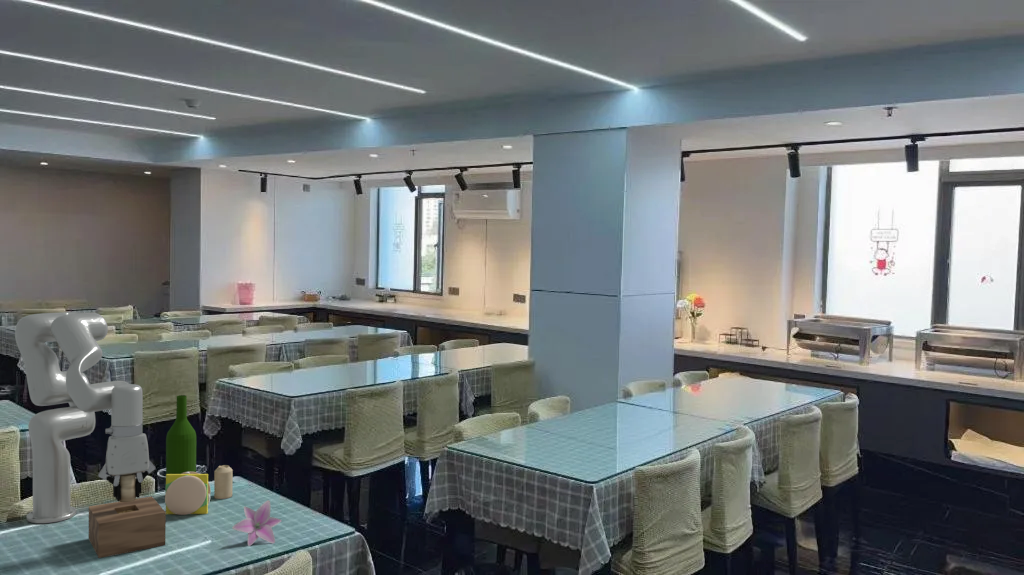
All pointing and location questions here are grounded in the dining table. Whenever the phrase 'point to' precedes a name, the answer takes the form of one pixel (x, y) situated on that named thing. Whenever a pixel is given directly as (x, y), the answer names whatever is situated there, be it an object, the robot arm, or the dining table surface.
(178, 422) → the wine bottle
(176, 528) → the dining table surface
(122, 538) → the socket block
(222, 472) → the candle
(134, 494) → the maple peg
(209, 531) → the dining table surface
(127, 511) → the tan square tile
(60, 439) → the robot arm
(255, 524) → the lily
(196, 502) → the hamburger
